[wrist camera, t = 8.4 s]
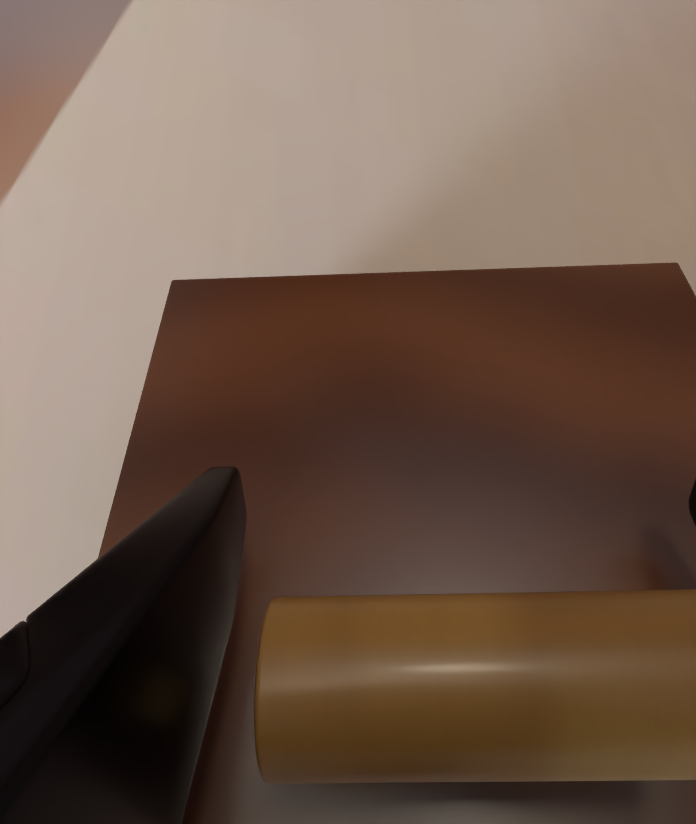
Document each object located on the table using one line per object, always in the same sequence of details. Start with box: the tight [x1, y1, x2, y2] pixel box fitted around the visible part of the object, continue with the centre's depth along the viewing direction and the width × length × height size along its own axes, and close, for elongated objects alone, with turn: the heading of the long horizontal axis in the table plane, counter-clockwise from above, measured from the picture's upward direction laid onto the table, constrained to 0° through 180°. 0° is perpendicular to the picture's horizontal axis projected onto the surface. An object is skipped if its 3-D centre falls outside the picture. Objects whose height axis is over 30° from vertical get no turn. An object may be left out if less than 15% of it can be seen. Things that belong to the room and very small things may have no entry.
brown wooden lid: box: [98, 263, 696, 824], centre depth 9 cm, size 11×12×5 cm
